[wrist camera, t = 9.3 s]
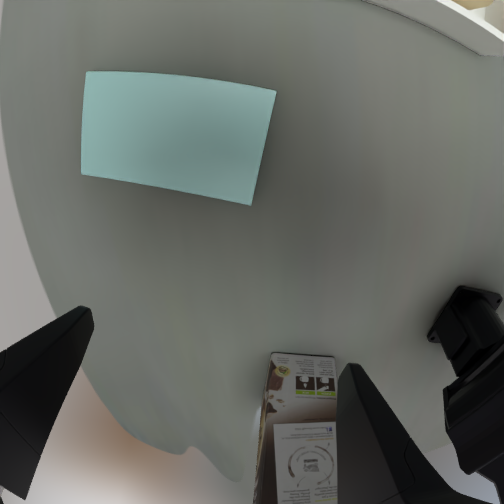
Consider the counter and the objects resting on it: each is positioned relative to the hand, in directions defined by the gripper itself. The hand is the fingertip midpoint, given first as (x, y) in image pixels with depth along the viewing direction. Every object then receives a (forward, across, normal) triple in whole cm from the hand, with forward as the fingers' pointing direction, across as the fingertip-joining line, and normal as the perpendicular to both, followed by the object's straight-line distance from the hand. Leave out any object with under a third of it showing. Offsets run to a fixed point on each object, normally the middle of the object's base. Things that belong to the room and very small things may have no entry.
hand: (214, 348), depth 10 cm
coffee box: (+13, -8, +18) cm, 24 cm away
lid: (+13, +6, -4) cm, 15 cm away
